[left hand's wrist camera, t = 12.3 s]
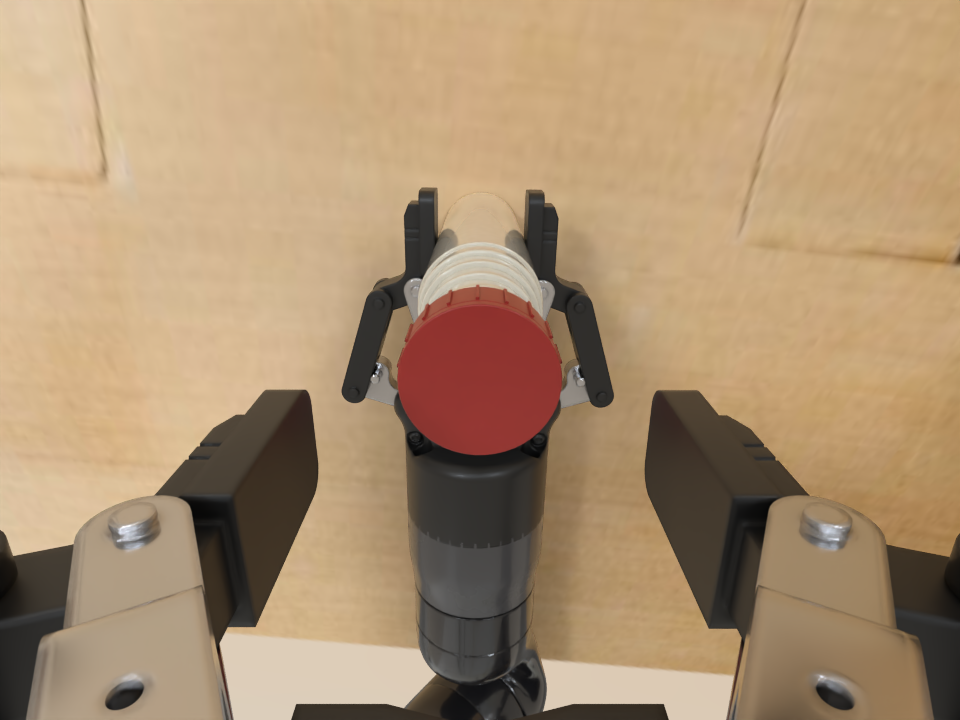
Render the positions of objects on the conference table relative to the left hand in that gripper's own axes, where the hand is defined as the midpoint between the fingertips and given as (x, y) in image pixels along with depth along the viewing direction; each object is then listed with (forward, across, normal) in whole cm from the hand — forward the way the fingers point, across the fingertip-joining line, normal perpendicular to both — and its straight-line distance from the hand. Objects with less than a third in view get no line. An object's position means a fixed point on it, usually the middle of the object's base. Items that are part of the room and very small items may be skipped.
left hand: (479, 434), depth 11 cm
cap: (+3, 0, 0) cm, 3 cm away
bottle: (+24, 0, 0) cm, 24 cm away
